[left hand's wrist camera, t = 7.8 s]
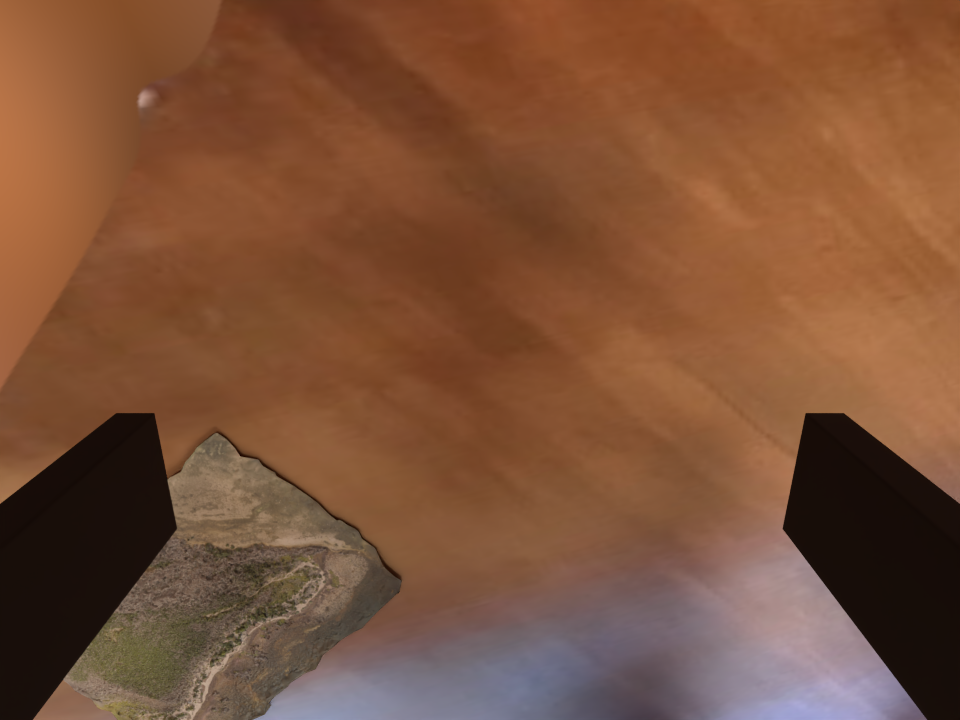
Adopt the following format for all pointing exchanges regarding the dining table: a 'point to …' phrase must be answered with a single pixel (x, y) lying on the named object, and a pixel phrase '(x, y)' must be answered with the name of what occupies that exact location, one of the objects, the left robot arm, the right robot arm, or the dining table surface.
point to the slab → (232, 598)
